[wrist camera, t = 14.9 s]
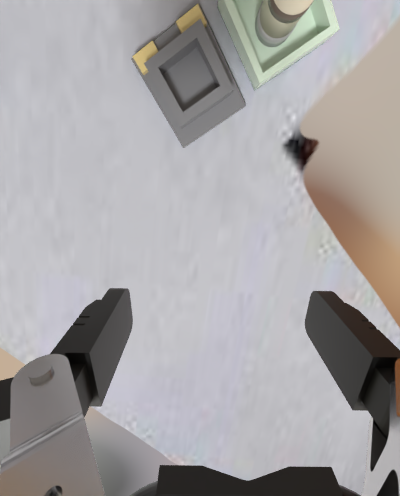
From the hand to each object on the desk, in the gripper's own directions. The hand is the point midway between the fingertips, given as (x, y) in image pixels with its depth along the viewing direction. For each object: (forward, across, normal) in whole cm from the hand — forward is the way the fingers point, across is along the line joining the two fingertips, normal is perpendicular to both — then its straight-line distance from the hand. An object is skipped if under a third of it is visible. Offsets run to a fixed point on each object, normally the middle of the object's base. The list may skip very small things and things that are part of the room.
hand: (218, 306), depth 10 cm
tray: (+28, -8, -21) cm, 36 cm away
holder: (+28, +2, -15) cm, 32 cm away
